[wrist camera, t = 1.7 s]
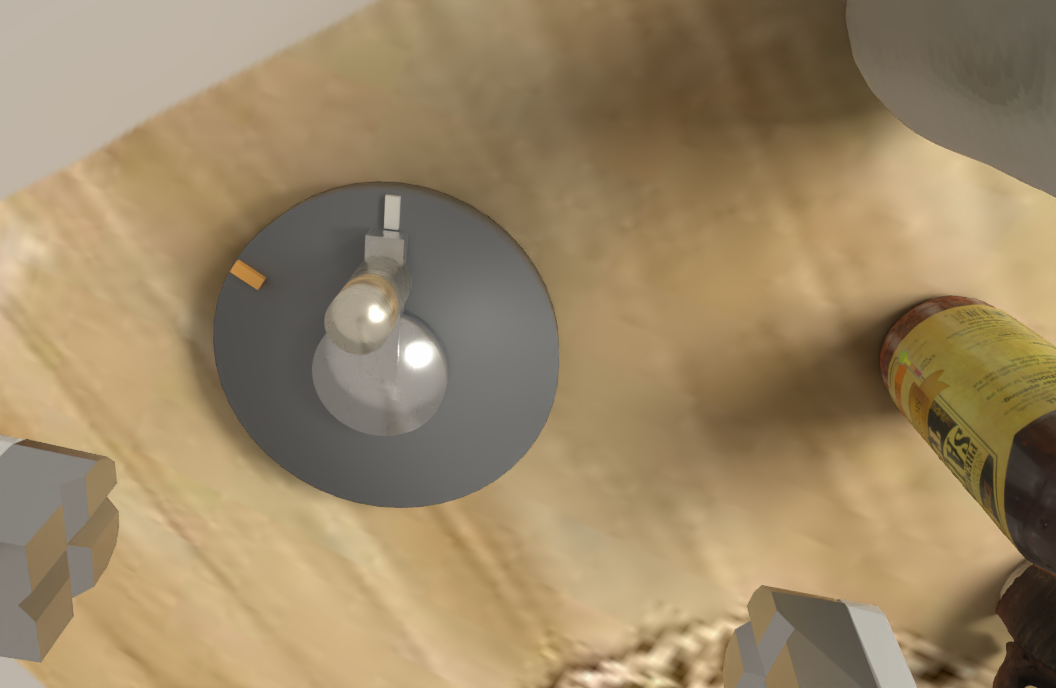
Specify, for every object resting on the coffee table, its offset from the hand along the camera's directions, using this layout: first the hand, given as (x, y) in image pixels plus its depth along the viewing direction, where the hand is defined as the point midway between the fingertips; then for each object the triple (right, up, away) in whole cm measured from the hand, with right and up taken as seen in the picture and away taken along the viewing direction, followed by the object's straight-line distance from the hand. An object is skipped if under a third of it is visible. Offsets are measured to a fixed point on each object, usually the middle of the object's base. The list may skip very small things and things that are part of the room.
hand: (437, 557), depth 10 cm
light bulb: (-5, +3, +26) cm, 26 cm away
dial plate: (-5, +3, +29) cm, 29 cm away
